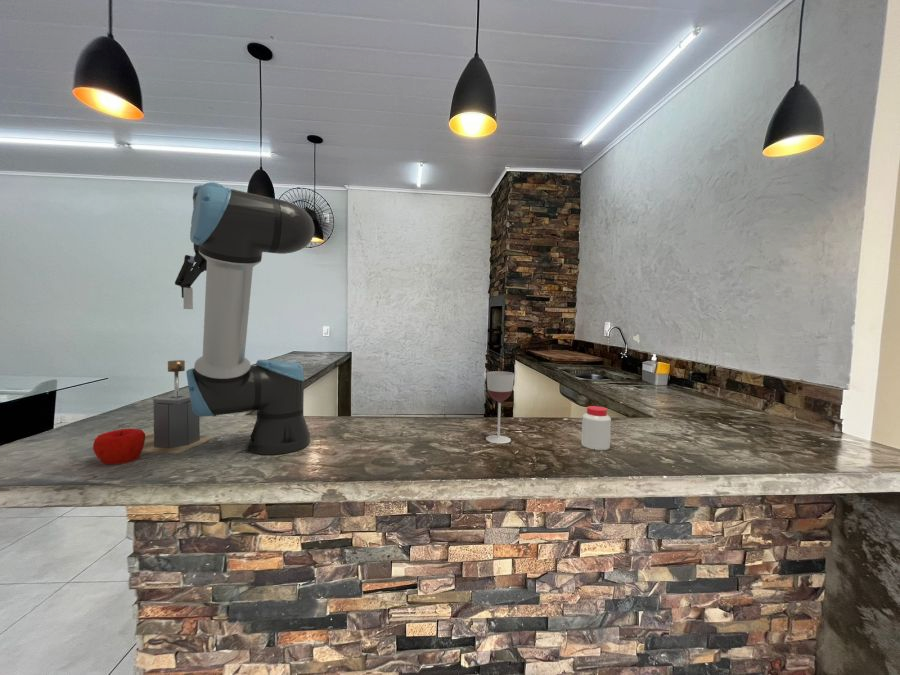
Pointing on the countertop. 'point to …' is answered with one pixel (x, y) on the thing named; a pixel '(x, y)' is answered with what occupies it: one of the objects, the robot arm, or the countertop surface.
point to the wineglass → (499, 396)
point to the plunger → (176, 373)
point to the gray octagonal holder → (174, 422)
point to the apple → (119, 446)
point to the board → (150, 448)
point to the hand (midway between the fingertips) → (208, 309)
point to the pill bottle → (596, 428)
